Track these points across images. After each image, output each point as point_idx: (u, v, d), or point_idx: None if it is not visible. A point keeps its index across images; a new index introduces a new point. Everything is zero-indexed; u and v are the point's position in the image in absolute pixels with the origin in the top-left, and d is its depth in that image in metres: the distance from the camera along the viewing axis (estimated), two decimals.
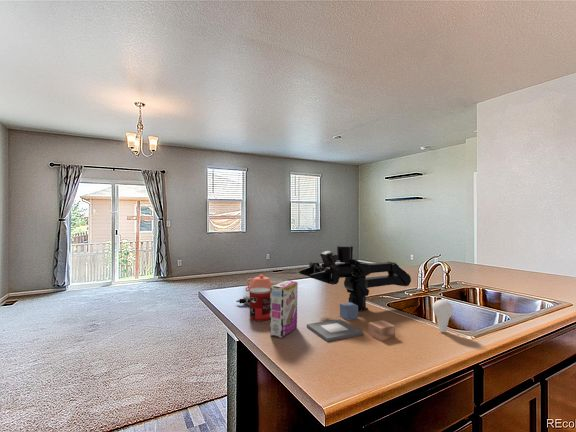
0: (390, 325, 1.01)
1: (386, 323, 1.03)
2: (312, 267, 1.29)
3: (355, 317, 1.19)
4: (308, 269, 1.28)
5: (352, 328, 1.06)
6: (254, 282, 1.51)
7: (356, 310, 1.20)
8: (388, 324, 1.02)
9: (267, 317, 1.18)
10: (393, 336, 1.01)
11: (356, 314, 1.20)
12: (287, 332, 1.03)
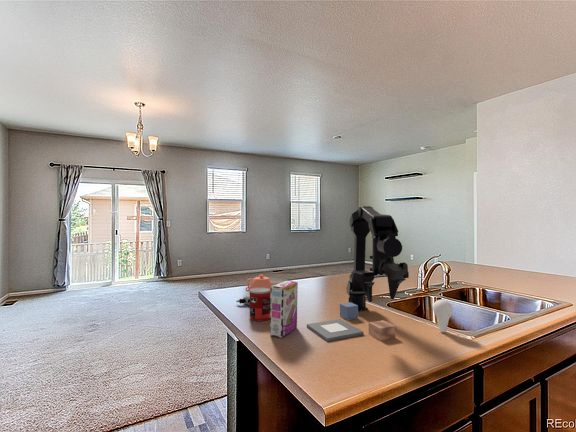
0: (390, 325, 1.01)
1: (386, 323, 1.03)
2: None
3: (355, 317, 1.19)
4: None
5: (352, 328, 1.06)
6: (254, 282, 1.51)
7: (356, 310, 1.20)
8: (388, 325, 1.02)
9: (267, 317, 1.18)
10: (393, 336, 1.01)
11: (356, 314, 1.20)
12: (287, 332, 1.03)
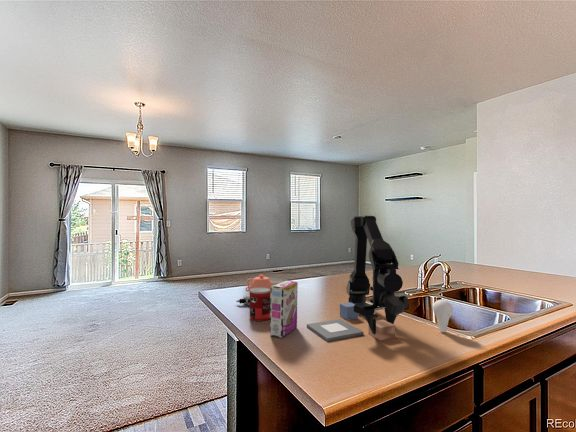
0: (390, 324, 1.01)
1: (386, 322, 1.03)
2: None
3: (355, 317, 1.19)
4: None
5: (352, 328, 1.06)
6: (254, 282, 1.51)
7: None
8: (388, 324, 1.02)
9: (267, 317, 1.18)
10: (393, 335, 1.00)
11: (356, 314, 1.20)
12: (287, 332, 1.03)
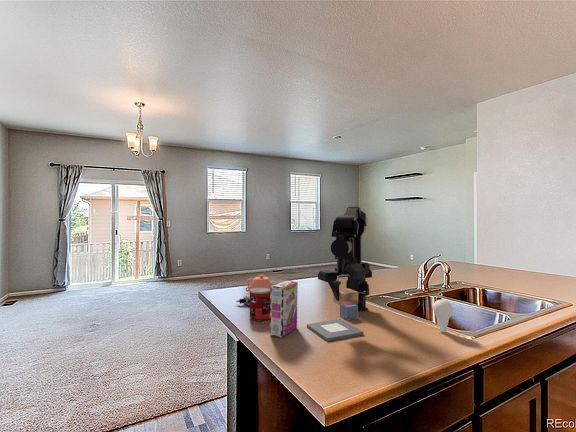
0: (353, 291, 1.04)
1: (350, 290, 1.06)
2: None
3: (355, 317, 1.19)
4: None
5: (352, 328, 1.06)
6: (254, 282, 1.51)
7: (356, 310, 1.20)
8: (352, 291, 1.05)
9: (267, 317, 1.18)
10: (356, 302, 1.04)
11: (356, 314, 1.20)
12: (287, 332, 1.03)
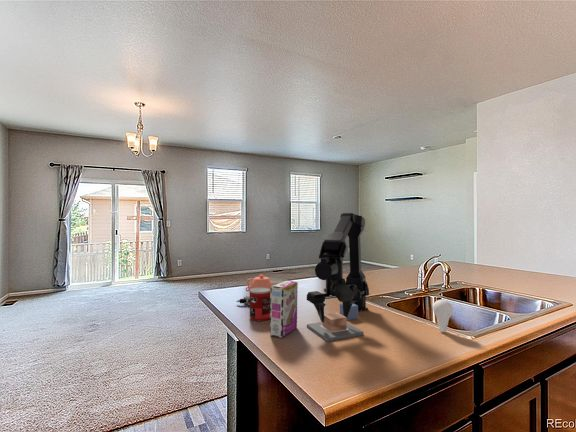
0: (342, 317, 1.05)
1: (338, 315, 1.07)
2: None
3: (355, 317, 1.19)
4: None
5: (352, 328, 1.06)
6: (254, 282, 1.51)
7: (356, 310, 1.20)
8: (340, 316, 1.06)
9: (267, 317, 1.18)
10: (344, 327, 1.05)
11: (356, 314, 1.20)
12: (287, 332, 1.03)
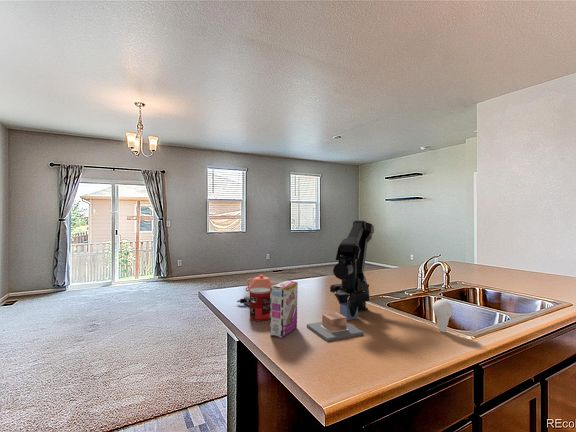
0: (342, 317, 1.05)
1: (338, 315, 1.07)
2: None
3: (355, 317, 1.19)
4: None
5: (352, 328, 1.06)
6: (254, 282, 1.51)
7: (356, 310, 1.20)
8: (340, 316, 1.06)
9: (267, 317, 1.18)
10: (344, 327, 1.05)
11: (356, 314, 1.20)
12: (287, 332, 1.03)
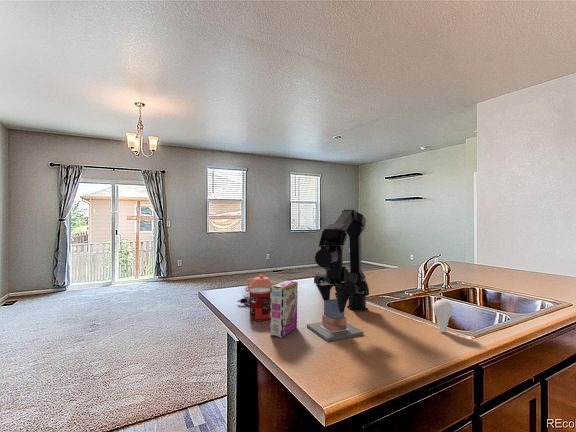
0: (342, 317, 1.05)
1: None
2: None
3: (341, 315, 1.05)
4: None
5: (352, 328, 1.06)
6: (254, 282, 1.51)
7: None
8: None
9: (267, 317, 1.18)
10: (344, 327, 1.05)
11: (342, 312, 1.05)
12: (287, 332, 1.03)
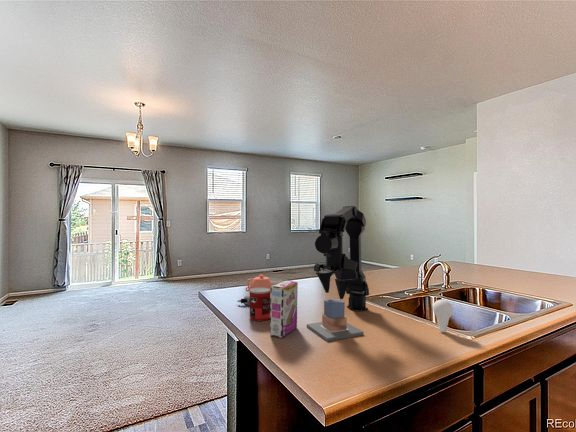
0: (342, 317, 1.05)
1: None
2: None
3: (341, 315, 1.05)
4: None
5: (352, 328, 1.06)
6: (254, 282, 1.51)
7: (342, 307, 1.05)
8: None
9: (267, 317, 1.18)
10: (344, 327, 1.05)
11: (342, 312, 1.05)
12: (287, 332, 1.03)
